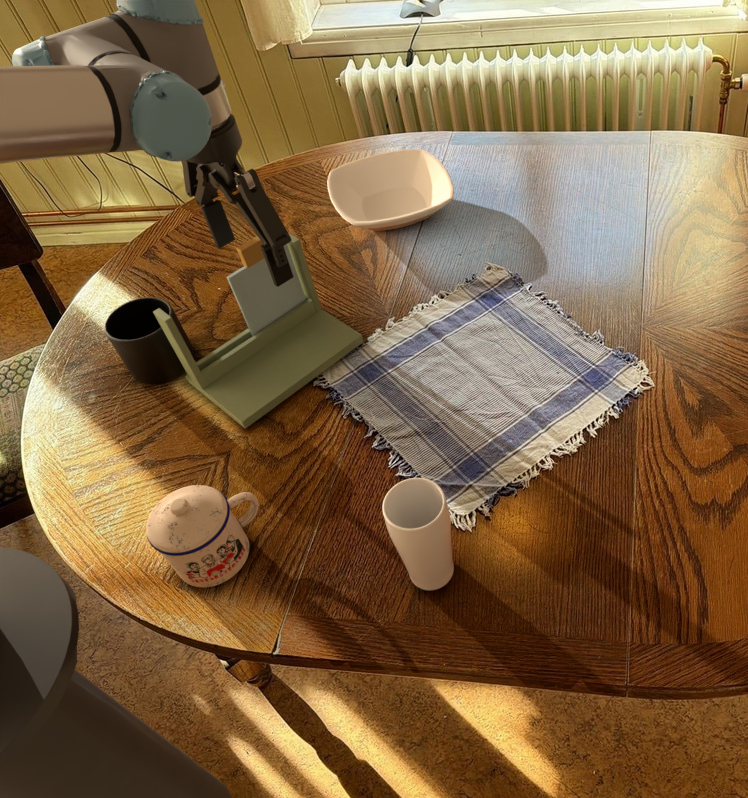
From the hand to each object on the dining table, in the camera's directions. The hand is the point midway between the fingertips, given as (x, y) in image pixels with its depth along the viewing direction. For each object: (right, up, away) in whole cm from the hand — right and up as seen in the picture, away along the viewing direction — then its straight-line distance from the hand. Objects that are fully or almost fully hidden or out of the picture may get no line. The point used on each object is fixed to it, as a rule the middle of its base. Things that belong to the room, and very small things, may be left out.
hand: (254, 261), depth 105 cm
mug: (-18, -13, +9) cm, 24 cm away
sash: (+1, -8, +10) cm, 13 cm away
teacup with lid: (+2, -38, -13) cm, 40 cm away
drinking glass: (+27, -40, -16) cm, 51 cm away
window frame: (+1, -14, +7) cm, 16 cm away
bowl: (+14, +16, +33) cm, 39 cm away
